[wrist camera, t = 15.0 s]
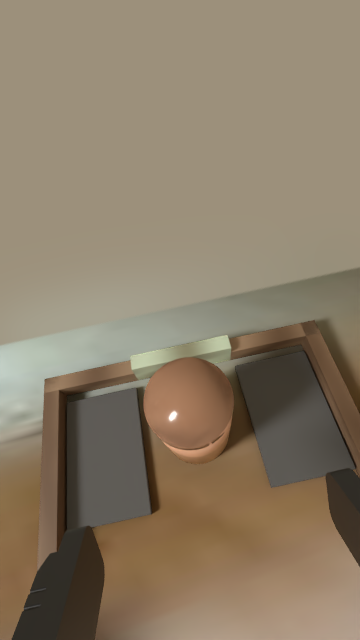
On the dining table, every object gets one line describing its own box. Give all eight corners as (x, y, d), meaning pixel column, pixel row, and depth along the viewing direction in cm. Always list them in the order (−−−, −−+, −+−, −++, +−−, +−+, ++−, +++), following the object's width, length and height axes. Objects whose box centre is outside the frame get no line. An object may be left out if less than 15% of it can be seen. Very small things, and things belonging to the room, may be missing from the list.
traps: (69, 532, 22) (66, 532, 21) (69, 404, 26) (66, 402, 26) (353, 469, 22) (355, 468, 21) (302, 353, 26) (304, 350, 26)
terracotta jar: (170, 470, 23) (150, 457, 16) (160, 403, 25) (138, 367, 19) (237, 456, 23) (245, 435, 16) (220, 390, 25) (220, 349, 19)
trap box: (32, 1265, 11) (-12, 1446, 9) (53, 385, 27) (40, 375, 25) (676, 1117, 11) (784, 1261, 9) (309, 329, 27) (316, 315, 25)
